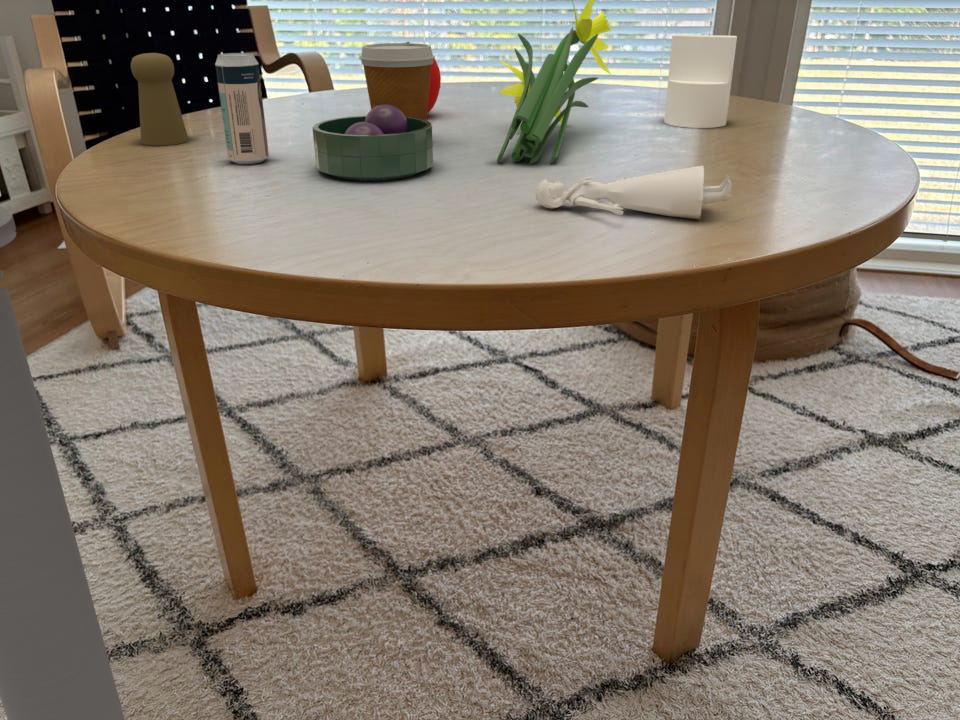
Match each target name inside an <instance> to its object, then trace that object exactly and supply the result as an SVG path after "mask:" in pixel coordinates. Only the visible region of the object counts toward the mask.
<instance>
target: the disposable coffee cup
mask: <svg viewBox="0 0 960 720" xmlns="http://www.w3.org/2000/svg"><path fill="white" fill-rule="evenodd" d="M434 58H435V59H436V55H434V54H433V50H432V46H431V44H426V43H413V42H410V43H406V42H388V43H387V42H386V43H385V42H384V43H383V42H382V43H372V44H364V45H362V47H361V55H359V60H360V62H361V65H362V66H363V70H364V71H363V72H364V77H365V82H366V83H365V84H366V88H367V94H368V101H369V105H370V110H372V109H373V108H374V107H376V106H378V105H382V104H389V105H393V106H395V107H397V108H398V109H400V110H401V111H402V112H403V114H404V115H405V116H406V117H415V118H420V119H424V120H427V119H428V114H427V110H428V98H429V88H430V77H431V65H432V64H433V59H434ZM427 121H428V120H427Z"/></svg>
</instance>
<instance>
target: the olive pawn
mask: <svg viewBox="0 0 960 720" xmlns="http://www.w3.org/2000/svg"><path fill="white" fill-rule="evenodd" d="M130 70H131V74H132V76H133V77H134V78H135V80H136V81H137V83H138V84H137V86H138V107H139V108H138V109H139V129H140V131H139V132H140V143H141V144H142V145H145V146H158V147H159V146H171V145H172V146H173V145H180V144H182V143H186V142H188V141H190V139H189V136H188V132H187V129H186V125H185V122H184V119H183V115H182V112H181V108H180V103H179V101H178V98H177V94H176V91H175V87H174V84H173V81H172V80H173V78H174V76H175V65H174V62H173V60H172V58H171V57H170V56H168V55H167V54H163V53H159V52H148V53H147V52H146V53H145V52H144V53H140V54H138V55H137V54H136V55H135V56H133V57H132V59H131V61H130Z"/></svg>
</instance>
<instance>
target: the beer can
mask: <svg viewBox="0 0 960 720" xmlns="http://www.w3.org/2000/svg"><path fill="white" fill-rule="evenodd" d="M214 65H215V71H216V80H217V86H218V87H217V88H218V94H219V102H220V109H221V116H222V122H223V124H222V125H223V130H224V138H225V139H224V140H225V145H226V153H227V159H228V160H229V161H231V162H233V163H234V164H237V165H255V164H259V163H263V162H265V160H266V159H268V158H269V156H270V154H269V153H270V152H269V147H268V137H267V136H268V135H267V128H266V118H265V110H264V101H263V94H262V92H263V91H262V84H261V76H260V75H261V74H260V66H259V61H258V60H257V59H256V57H255V55H254V53H252V52H251V53H249V52H228V53H220V54H219V53H218V54H217V57H216V61H215V63H214Z"/></svg>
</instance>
